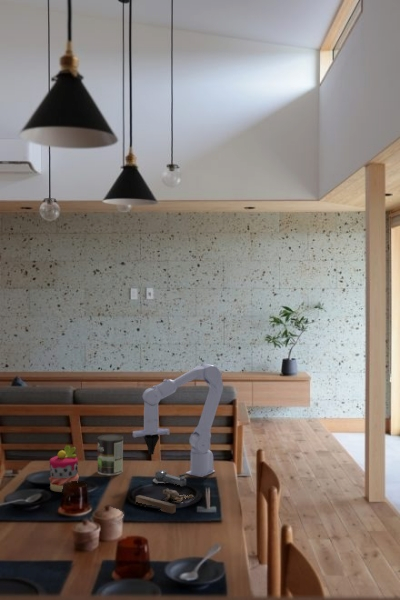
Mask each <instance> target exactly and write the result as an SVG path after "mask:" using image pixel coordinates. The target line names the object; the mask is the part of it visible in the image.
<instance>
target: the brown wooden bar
mask: <svg viewBox="0 0 400 600" xmlns="http://www.w3.org/2000/svg"><path fill="white" fill-rule="evenodd" d="M136 502H138V503H142V504H146V505H152V506H157V507H160V508H161V509H160V510H161V512H164V513H167V514H171V515H172V514H175V513H176V509H177V504H175V503H170V502H168V501H163V500H160V499H155V498H152V497H148V496H145V495H141V494H139V495H136V496H135V503H136ZM160 510H159V511H160Z"/></svg>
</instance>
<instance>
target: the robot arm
mask: <svg viewBox="0 0 400 600" xmlns="http://www.w3.org/2000/svg"><path fill="white" fill-rule="evenodd" d="M222 376H223V375H222V372H221V370H220V369H219V367H217V366H215V365H212V364H210V363H208V362H204V363H202V364H200V365H196V366H195V367H194V368H192V369H190V370H188V371H186V372H185V373H183V374H182V375H180V376H178V377H176V378H175V379H171V378H169V379H167V378H164V379H163V382H161V383H158V384H156V385H155V384H154V385H153V386H152V387H149V388H146V389H145V390H144V392H143V393H142V395H141V397H142V399H143V402H144V403H143V404H144V405H143V406H144V407H143V429H141V430H134V431H132V437H133V438H137V437H139V438H141V437H143V439H144V441H145V444H146V447H147V451H148V454H149V455H154V454H155V453H154V452H155V448H156V445H157V444H158V442H159V440H160V436H162V435H164V436H165V435H166V436H167V435H169V436H170V428H159V408H160V407H159V403H160V401H161V400H164V399H165V398H166V397H167V398H168V396H171V395H173V394H174V393H176V391H177V389H178V388H180V387H181V386H184V385H185V384H188V383H190V382H192V381H195V380H198V381H199V380H201V381H205V383H206V385H207V386H208V388H209V389H208V392H207V396H206V400H205V401H204V402H205V403H204V405H203V409H202V411H201V414H200V419H199V421H198V424H197V426H196V427H195V428H194V431H193V433H191V435H190V437H189V439H188V440H189V441H188V442H189V445H190V446H191V449H190V470H189V471H186V472H185V475H186V474H187V475H190V476H193V477H194V476H196V477H200V478H203V477H206V476H208V475H210V474H212V473H215V472H216V470H214V454H213V452H212V451H211V450H210V448H211V438H212V434H211V433H212V432H211V428H212V426H213V423H214V419H215V416H216V413H217V410H218V406H219V404H220V401H221V397H222V394H223V391H224V383H223V379H222Z"/></svg>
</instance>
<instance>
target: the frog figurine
mask: <svg viewBox="0 0 400 600" xmlns="http://www.w3.org/2000/svg"><path fill="white" fill-rule="evenodd" d="M162 494H163V495H167V496H166V497H165V498H164V499H166V500H167V499H168V500H170V499H171V500H172V499H175V500H177V501H175V502H181V501H182V500H183V498H185V499H186V498H188V499H189V498H192V497H194V498H195V496H194V495H193V494H188V495H189V496H188V495H187V494H183V495H179V494H180V493H179V492H178V491H177V490H173V489H169V488H168V487H167V488H165V489H162ZM186 495H187V496H186ZM181 503H182V502H181Z"/></svg>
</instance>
